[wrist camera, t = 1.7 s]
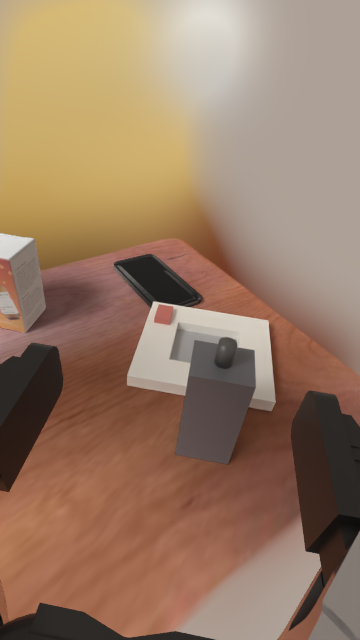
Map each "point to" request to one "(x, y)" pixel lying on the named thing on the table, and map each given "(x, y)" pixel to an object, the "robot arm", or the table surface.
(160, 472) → the table surface
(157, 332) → the socket plate
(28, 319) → the small box
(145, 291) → the phone
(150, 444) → the table surface
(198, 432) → the plug
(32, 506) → the table surface
